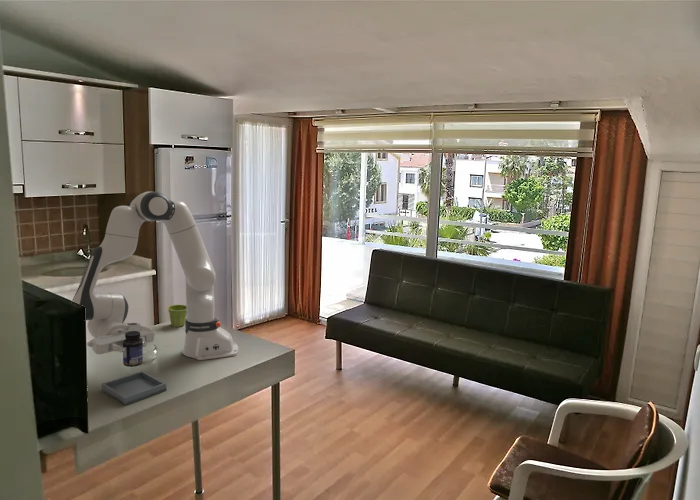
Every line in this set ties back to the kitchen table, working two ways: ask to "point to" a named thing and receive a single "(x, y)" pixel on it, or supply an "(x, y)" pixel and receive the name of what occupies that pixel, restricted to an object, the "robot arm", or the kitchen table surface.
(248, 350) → the kitchen table surface
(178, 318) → the object
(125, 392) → the tray
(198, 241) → the robot arm
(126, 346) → the pill bottle
